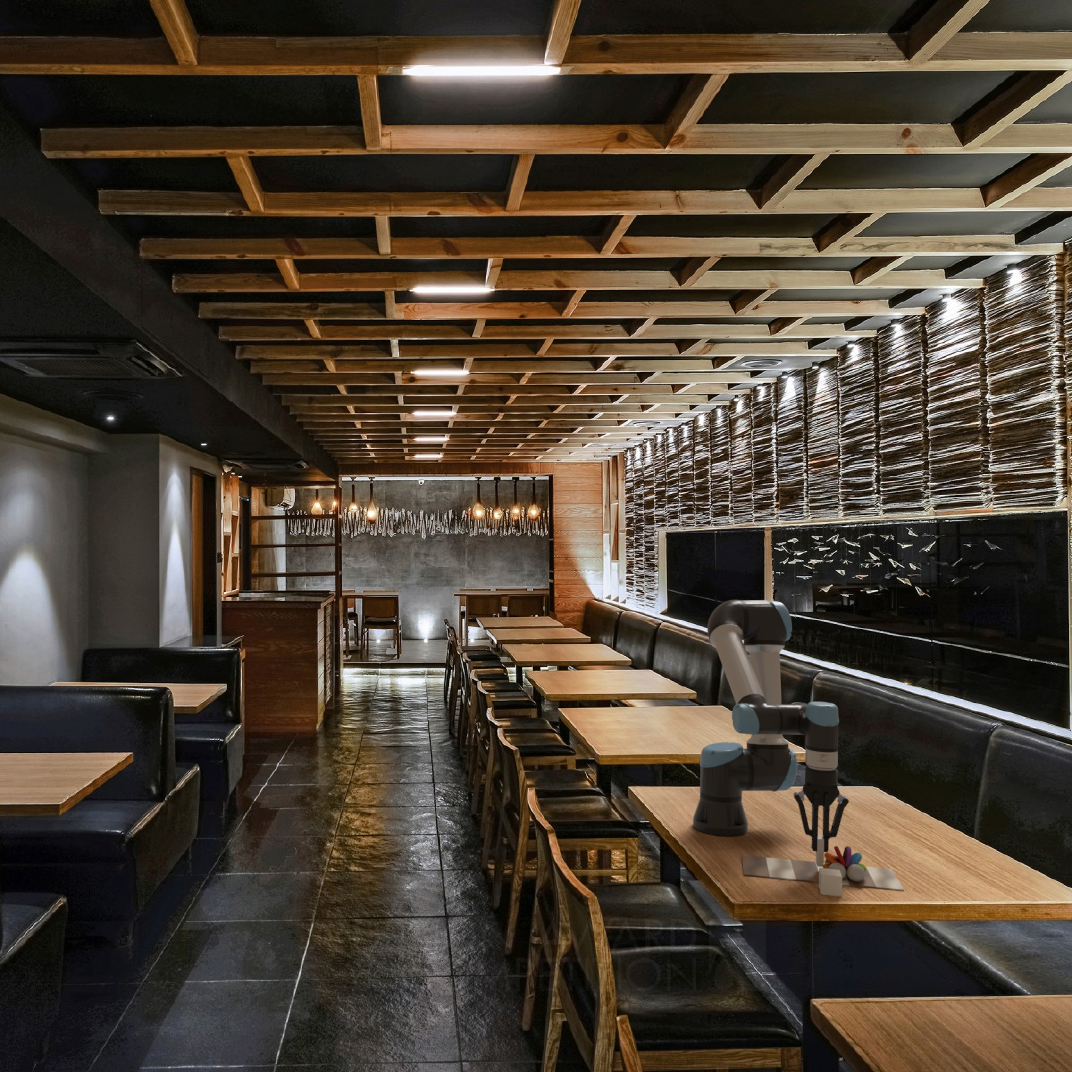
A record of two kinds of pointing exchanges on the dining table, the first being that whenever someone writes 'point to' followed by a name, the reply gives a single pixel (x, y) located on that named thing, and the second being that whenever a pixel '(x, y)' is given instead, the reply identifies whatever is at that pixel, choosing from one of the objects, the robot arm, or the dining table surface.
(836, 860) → the rainbow segmented toy
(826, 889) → the cube
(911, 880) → the dining table surface
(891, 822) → the dining table surface
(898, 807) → the dining table surface
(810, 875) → the striped mat
